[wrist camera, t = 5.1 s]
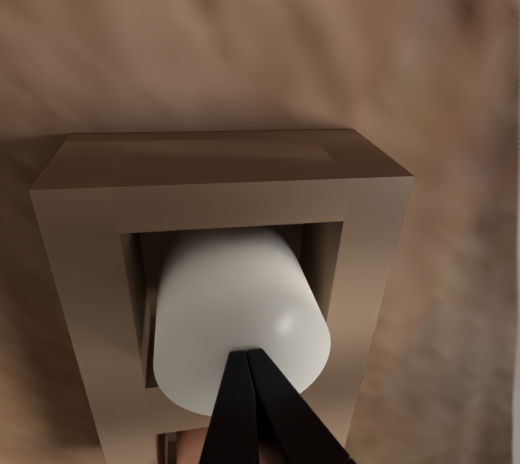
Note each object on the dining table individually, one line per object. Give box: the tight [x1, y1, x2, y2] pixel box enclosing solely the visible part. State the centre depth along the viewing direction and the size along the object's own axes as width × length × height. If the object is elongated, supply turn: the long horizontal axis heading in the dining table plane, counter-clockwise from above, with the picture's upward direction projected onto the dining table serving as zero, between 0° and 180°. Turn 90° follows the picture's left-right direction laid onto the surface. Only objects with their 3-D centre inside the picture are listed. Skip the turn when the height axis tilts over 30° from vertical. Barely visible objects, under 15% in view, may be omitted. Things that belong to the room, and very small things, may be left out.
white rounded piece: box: [153, 225, 331, 416], centre depth 11 cm, size 4×4×4 cm
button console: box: [28, 130, 414, 464], centre depth 15 cm, size 16×9×4 cm, turn 178°
